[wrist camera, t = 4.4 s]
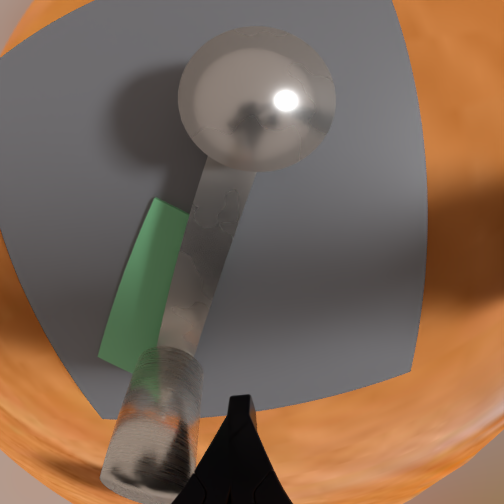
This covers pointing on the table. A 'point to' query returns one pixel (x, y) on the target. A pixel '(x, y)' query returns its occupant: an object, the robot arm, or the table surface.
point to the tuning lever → (214, 235)
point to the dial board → (183, 193)
